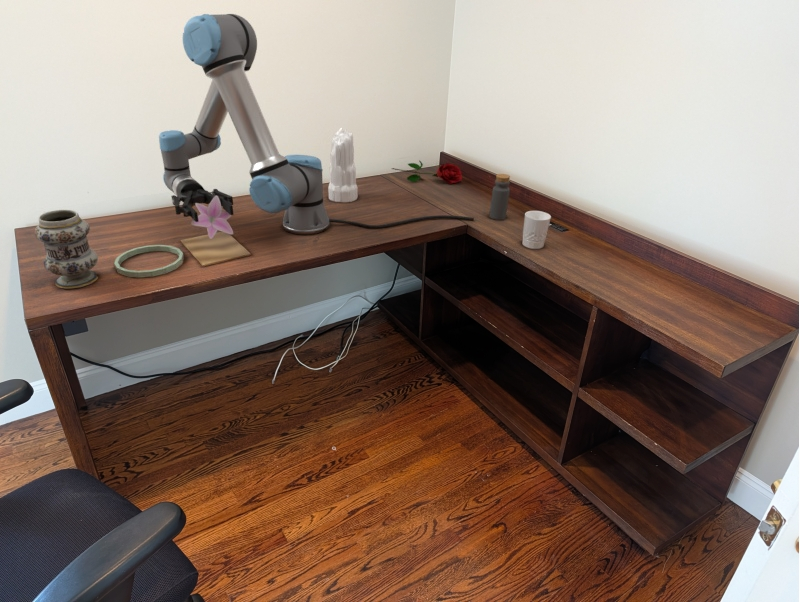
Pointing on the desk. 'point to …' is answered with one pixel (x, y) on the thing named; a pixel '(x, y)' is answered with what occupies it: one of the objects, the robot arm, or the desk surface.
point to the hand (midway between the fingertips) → (214, 213)
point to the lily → (213, 218)
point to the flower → (438, 173)
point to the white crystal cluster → (342, 168)
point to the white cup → (535, 229)
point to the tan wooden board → (215, 248)
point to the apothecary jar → (67, 248)
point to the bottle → (500, 197)
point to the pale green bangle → (148, 272)
